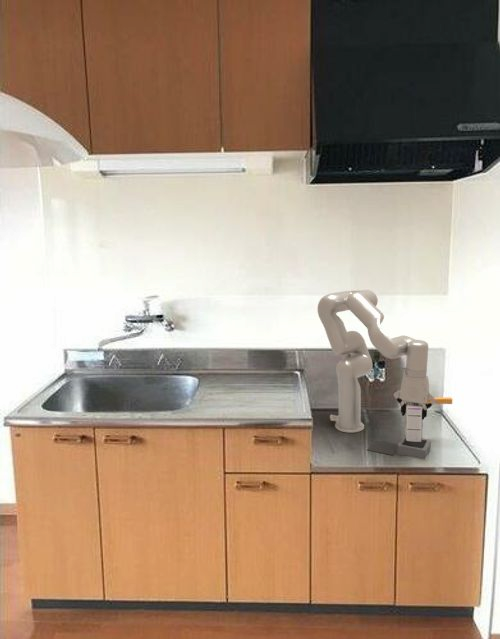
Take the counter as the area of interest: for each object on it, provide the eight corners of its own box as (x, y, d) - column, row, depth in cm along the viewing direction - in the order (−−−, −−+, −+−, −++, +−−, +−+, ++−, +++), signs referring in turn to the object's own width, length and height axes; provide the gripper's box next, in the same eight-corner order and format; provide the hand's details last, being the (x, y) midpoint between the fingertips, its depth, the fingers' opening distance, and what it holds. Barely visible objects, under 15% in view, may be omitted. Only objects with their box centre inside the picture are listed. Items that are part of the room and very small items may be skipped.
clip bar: (452, 404, 196) (452, 399, 195) (417, 404, 197) (417, 399, 197) (450, 401, 199) (450, 397, 198) (415, 401, 200) (415, 396, 200)
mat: (367, 450, 196) (367, 449, 196) (374, 440, 205) (374, 439, 205) (392, 455, 191) (392, 454, 191) (398, 445, 200) (398, 444, 200)
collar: (397, 453, 192) (397, 445, 192) (403, 443, 201) (404, 435, 201) (425, 459, 187) (425, 450, 187) (430, 448, 196) (430, 439, 195)
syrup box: (421, 442, 191) (423, 406, 188) (405, 441, 192) (406, 405, 189) (420, 435, 196) (421, 401, 193) (404, 434, 198) (405, 400, 195)
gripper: (390, 372, 189) (388, 415, 193) (438, 379, 181) (435, 424, 185) (395, 366, 196) (393, 409, 200) (441, 373, 187) (438, 417, 191)
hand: (413, 416), depth 192 cm, fingers closed on syrup box, 6 cm apart
